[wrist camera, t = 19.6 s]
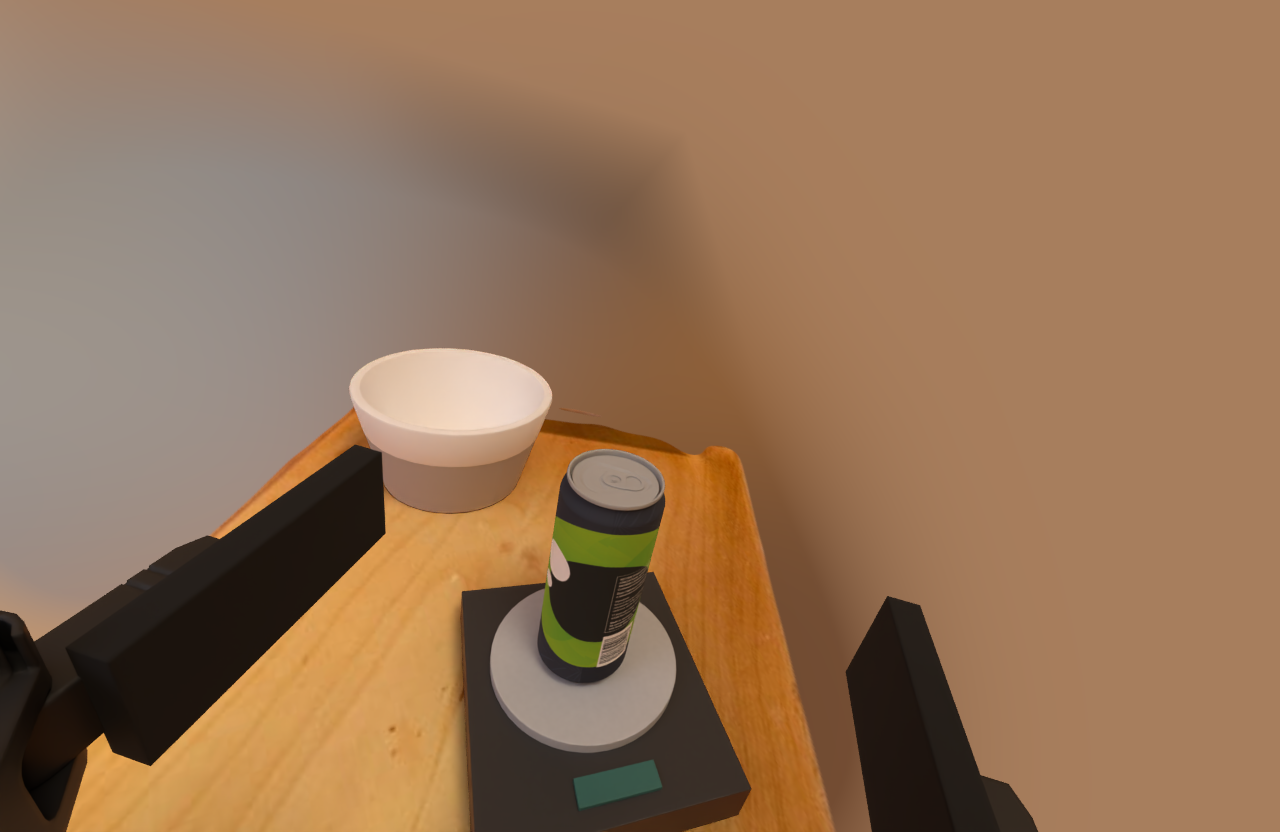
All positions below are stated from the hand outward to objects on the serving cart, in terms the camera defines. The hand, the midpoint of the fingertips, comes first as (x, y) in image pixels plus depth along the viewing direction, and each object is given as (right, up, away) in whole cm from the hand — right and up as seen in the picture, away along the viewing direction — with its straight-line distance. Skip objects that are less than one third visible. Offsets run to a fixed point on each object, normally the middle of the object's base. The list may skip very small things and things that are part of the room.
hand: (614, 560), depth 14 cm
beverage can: (-4, -13, +24) cm, 28 cm away
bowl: (-20, -3, +45) cm, 49 cm away
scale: (-3, -17, +24) cm, 30 cm away
